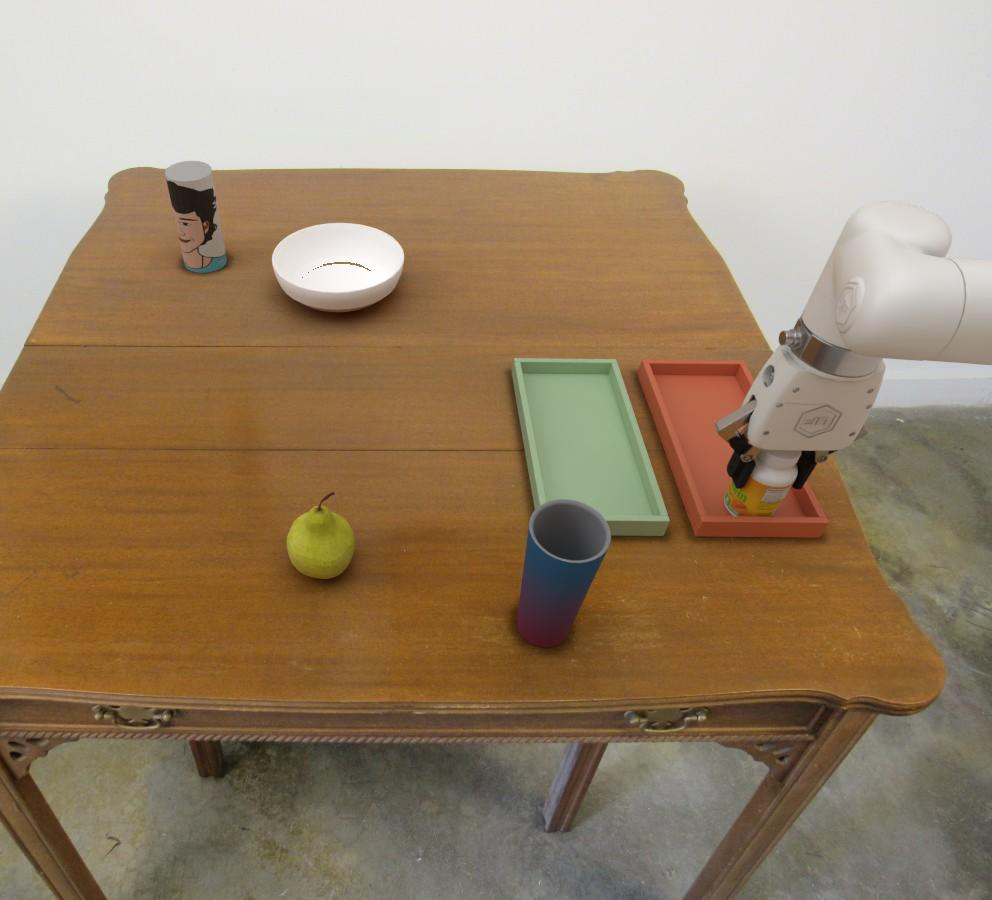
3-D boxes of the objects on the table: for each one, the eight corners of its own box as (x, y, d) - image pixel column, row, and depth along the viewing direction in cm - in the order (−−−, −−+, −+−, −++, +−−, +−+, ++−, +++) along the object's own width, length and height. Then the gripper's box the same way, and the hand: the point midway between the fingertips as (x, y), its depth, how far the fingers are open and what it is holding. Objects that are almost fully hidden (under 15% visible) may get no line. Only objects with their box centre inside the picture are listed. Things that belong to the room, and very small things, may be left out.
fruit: (277, 578, 76) (264, 502, 67) (309, 530, 80) (300, 453, 72) (337, 601, 74) (331, 526, 66) (366, 551, 78) (364, 474, 70)
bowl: (374, 341, 104) (373, 305, 100) (252, 310, 109) (246, 274, 105) (421, 272, 117) (423, 237, 113) (310, 247, 122) (308, 213, 117)
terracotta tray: (819, 537, 80) (829, 522, 79) (694, 536, 80) (702, 521, 78) (737, 375, 100) (744, 360, 98) (637, 374, 100) (641, 359, 98)
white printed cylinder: (186, 251, 121) (168, 161, 110) (228, 249, 121) (213, 160, 110) (181, 273, 116) (161, 182, 105) (225, 272, 116) (209, 180, 106)
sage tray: (663, 536, 80) (670, 521, 78) (538, 535, 80) (542, 519, 78) (611, 374, 100) (616, 358, 98) (511, 372, 100) (513, 357, 98)
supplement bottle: (714, 491, 84) (744, 429, 77) (759, 487, 85) (793, 426, 78) (735, 528, 80) (768, 466, 74) (782, 524, 81) (819, 462, 74)
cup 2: (508, 591, 75) (529, 494, 64) (576, 600, 74) (608, 503, 64) (506, 651, 70) (528, 557, 60) (578, 661, 70) (614, 567, 59)
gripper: (756, 368, 64) (693, 505, 77) (954, 370, 64) (858, 506, 77) (729, 317, 69) (674, 453, 82) (912, 319, 69) (828, 455, 82)
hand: (764, 478), depth 79 cm, fingers closed on supplement bottle, 5 cm apart
